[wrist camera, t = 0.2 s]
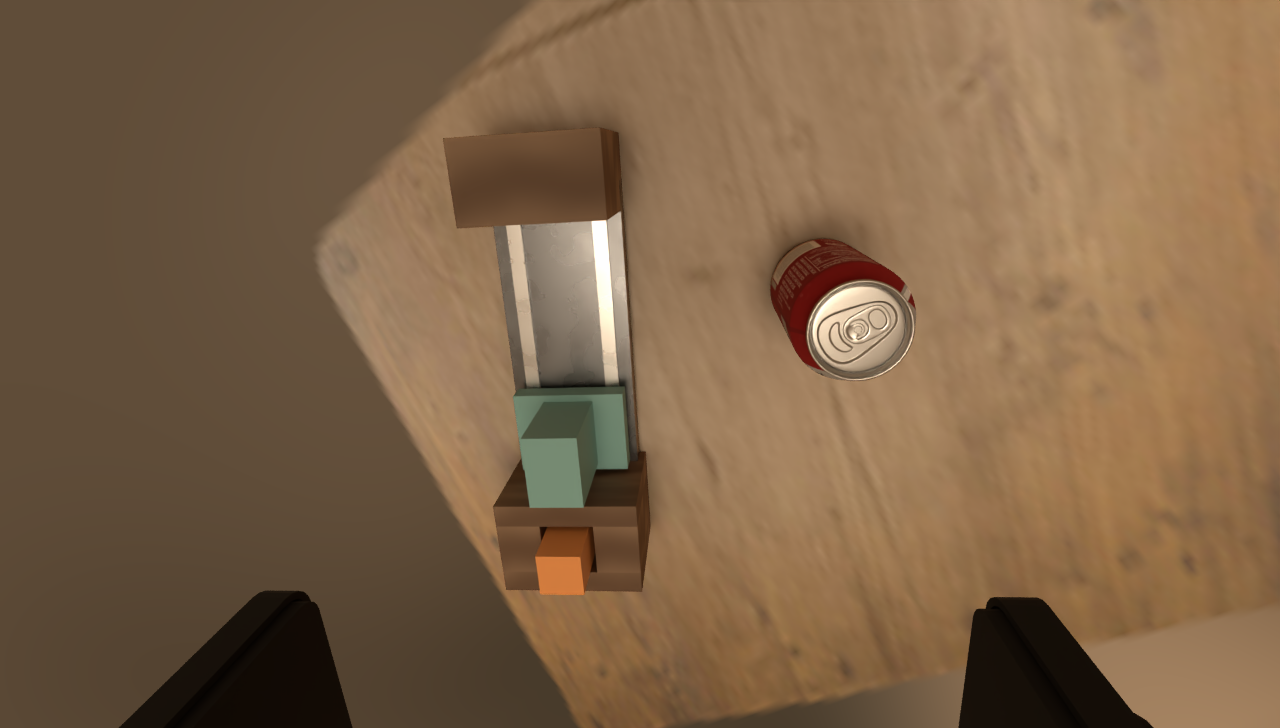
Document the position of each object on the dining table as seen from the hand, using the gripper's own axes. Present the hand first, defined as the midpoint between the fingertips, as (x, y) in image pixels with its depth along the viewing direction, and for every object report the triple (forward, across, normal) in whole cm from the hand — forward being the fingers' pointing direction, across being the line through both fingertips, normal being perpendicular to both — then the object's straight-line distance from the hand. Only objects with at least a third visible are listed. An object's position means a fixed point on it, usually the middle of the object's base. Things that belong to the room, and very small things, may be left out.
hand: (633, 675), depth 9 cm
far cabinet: (+37, +9, +18) cm, 42 cm away
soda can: (+37, -9, +2) cm, 38 cm away
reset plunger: (+34, +9, +18) cm, 40 cm away
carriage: (+34, +9, +11) cm, 37 cm away
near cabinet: (+36, +9, -7) cm, 38 cm away
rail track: (+36, +9, +4) cm, 38 cm away
